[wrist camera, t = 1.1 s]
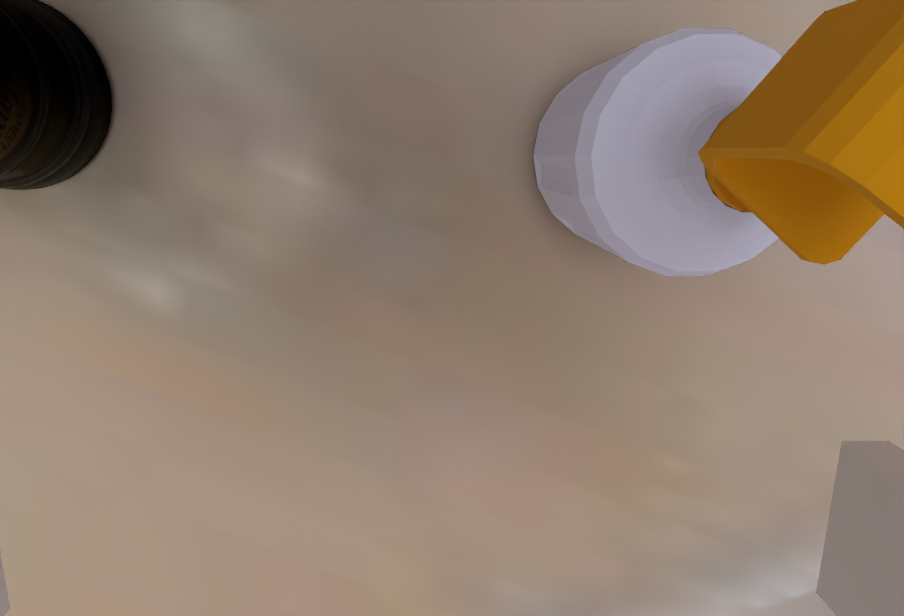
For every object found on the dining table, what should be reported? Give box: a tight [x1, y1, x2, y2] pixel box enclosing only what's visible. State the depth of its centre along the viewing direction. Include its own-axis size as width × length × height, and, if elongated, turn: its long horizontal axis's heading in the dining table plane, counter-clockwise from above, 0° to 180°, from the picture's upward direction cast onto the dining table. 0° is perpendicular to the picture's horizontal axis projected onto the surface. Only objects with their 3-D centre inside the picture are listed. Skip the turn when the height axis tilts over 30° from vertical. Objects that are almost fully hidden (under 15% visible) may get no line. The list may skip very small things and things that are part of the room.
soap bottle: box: [533, 0, 904, 276], centre depth 23 cm, size 9×9×25 cm
